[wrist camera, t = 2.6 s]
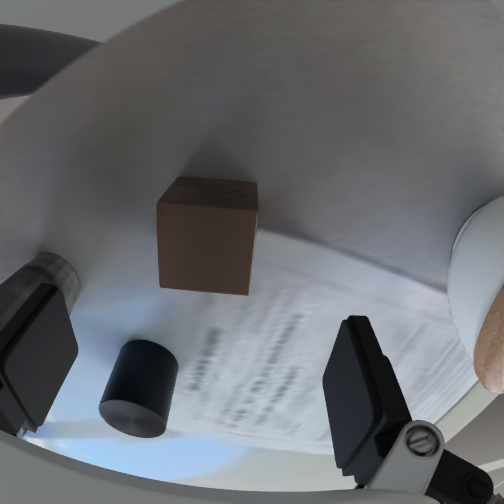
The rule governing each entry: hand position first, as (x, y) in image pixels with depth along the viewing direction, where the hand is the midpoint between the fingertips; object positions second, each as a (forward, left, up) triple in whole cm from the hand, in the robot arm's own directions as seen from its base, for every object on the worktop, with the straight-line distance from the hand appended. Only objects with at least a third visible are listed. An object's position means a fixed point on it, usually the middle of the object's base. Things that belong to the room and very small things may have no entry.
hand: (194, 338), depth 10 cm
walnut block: (0, 0, -10) cm, 10 cm away
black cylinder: (-5, -13, -10) cm, 17 cm away
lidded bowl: (+20, 0, -10) cm, 22 cm away
